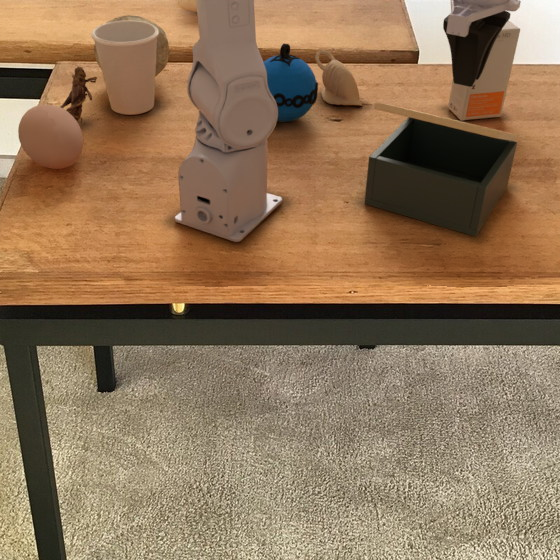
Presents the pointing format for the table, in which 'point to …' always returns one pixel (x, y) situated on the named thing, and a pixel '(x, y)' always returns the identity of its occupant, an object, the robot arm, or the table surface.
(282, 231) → the table surface
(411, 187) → the chest
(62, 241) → the table surface
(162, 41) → the sculpture
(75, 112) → the insect
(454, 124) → the lid
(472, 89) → the cosmetic box
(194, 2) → the cup
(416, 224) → the table surface
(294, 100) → the ornament
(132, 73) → the dixie cup
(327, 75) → the decorative ornament
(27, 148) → the egg
